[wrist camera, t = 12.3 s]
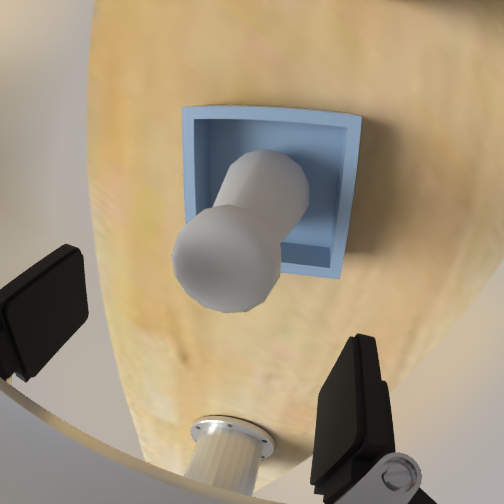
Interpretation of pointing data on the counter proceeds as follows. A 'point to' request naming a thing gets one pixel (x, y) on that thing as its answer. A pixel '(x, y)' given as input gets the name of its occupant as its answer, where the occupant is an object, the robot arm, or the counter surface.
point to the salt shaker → (242, 233)
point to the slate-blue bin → (294, 146)
